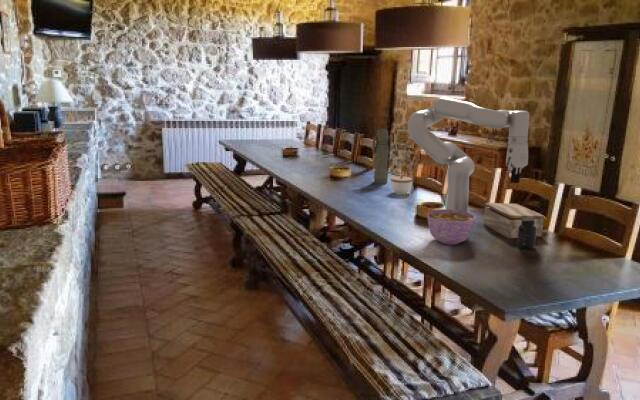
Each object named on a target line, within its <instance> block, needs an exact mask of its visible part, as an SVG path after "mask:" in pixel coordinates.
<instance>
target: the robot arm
mask: <svg viewBox="0 0 640 400" xmlns="http://www.w3.org/2000/svg"><path fill="white" fill-rule="evenodd" d="M446 118H448V119H452V120H458V121H461V122H464V123H465V122H466V123H468V124H473V125H476V126H481V127H484V128H489V129H494V130H500V129H503V128H507V127H509V128H508V142H507V143H508V146H507V149H506V150H507V151H506V159H505V166H506V167H507V171H510V183H512V184H519V183H520V179H521V177H520V176H521V173H522V169H524V168H525V167H527V166H528V165H529V144H528V141H529V140H528V138H529V123H530V112H529V111H528V110H507V109H499V110H493V109H490V108H484V107H481V106H479V105H476V104H474V103H472V102H470V101H466V100H465V101H464V100H458V99H456V98H455V99H454V98H452V97H451V96H441V97H438V98H436V99H435V100H434V101H433V104H432V105H430V106H429V107H428V106H427V107H426V108H425V109H422V110H418V111H415V112H413V113H412V114H411V115H410V116H409V117H408V121H407V131H408V135H409V136H410V139H412V140H413V142H414V143H415V144H417V146H419V147H420V148H421V149H422V150H423V151H424V153H426V154H427V155H428V156H429V157H430V158H431V159H433V161H435V162H436V163H438V164H440V165H445V164H446V165H447V166H448V168H447V174H446V175H447V178H446V179H447V191H446V192H447V194H446V207H445V208H446V209H450V210H460V211H465V212H468V209H469V198H470V197H469V196H470V195H469V194H470V176H471V175H472V174H473V173H474V171H475V168H476V167H475V165H476V164H475V163H474V160H472V158H471V157H470V156H469V155H467V153H465V152H464V151H463V150H462V149H461V148H459V147H458V145H456V144H455V143H453V142H451V141H443V140H441V139H440V138H439V137H438V136H437V135H436V134H434V133H433V132H432V131H430V130H429V129H428V128H430V127H432V126H434V125H435V124H438V123H439V122H440V121H442V120H444V119H446Z"/></svg>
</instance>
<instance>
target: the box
mask: <svg viewBox="0 0 640 400" xmlns="http://www.w3.org/2000/svg"><path fill="white" fill-rule="evenodd" d="M532 219H534V220H535V222H534V223H535V224H534V226H535V227H536V238H537V237H542V235H543V227H544V219H537V218H532ZM521 224H522V218H509V217H507V216H505V215H503V214H501V213H499V212H497V211H495V210H493V209H491V208H489V207H484V215H483V225H484V226H486V227H488V228H489V229H492V230H493V231H494V232H497V233H498V234H500V235H502V236H503V237H505V238H507V239H516V238H517V239H518V228H519V226H520V225H521Z"/></svg>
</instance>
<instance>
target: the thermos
mask: <svg viewBox="0 0 640 400" xmlns="http://www.w3.org/2000/svg"><path fill="white" fill-rule="evenodd" d="M375 135H376V136H374V137H373V139H372V153H374V158H375V164H374V172H373V179H374V180H373V183H374V184H375V185H376V184H377V185H386V184H388V179H389V178H388V177H389V176H388V175H389V171H388V158H389V154H390V152H391V151H392V149H391V148H392V147H391V145H392V138H391V137H390V136H389V132H388V129H386V128H378V129H377V130H376V134H375Z"/></svg>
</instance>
